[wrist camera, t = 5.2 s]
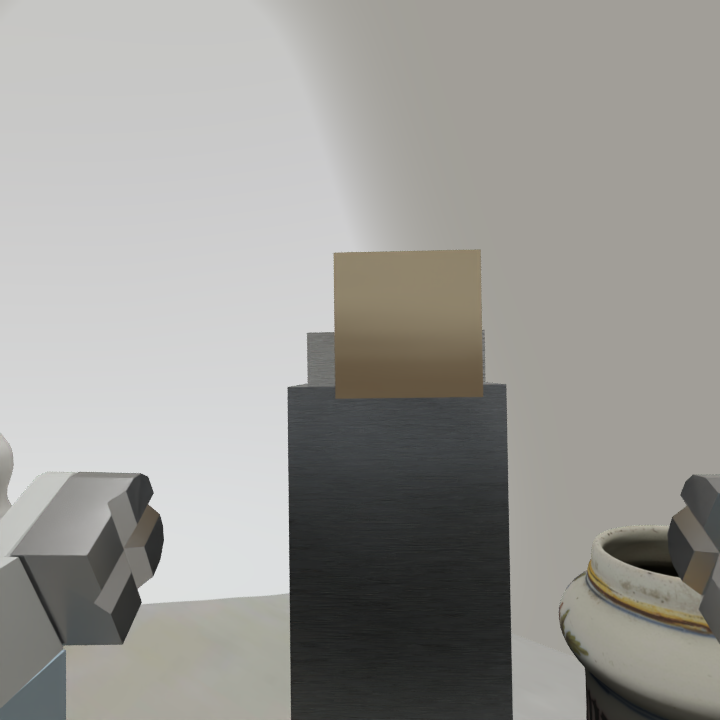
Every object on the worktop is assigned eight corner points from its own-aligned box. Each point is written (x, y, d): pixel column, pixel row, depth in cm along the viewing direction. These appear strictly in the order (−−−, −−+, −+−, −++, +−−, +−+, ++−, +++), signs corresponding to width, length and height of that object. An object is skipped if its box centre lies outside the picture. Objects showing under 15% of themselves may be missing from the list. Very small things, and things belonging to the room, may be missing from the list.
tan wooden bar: (483, 397, 11) (480, 249, 11) (335, 398, 11) (333, 252, 11) (413, 379, 33) (412, 331, 33) (365, 379, 33) (364, 331, 33)
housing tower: (520, 1121, 18) (505, 329, 19) (295, 1112, 19) (287, 333, 19) (465, 825, 30) (456, 345, 31) (328, 823, 31) (322, 347, 31)
